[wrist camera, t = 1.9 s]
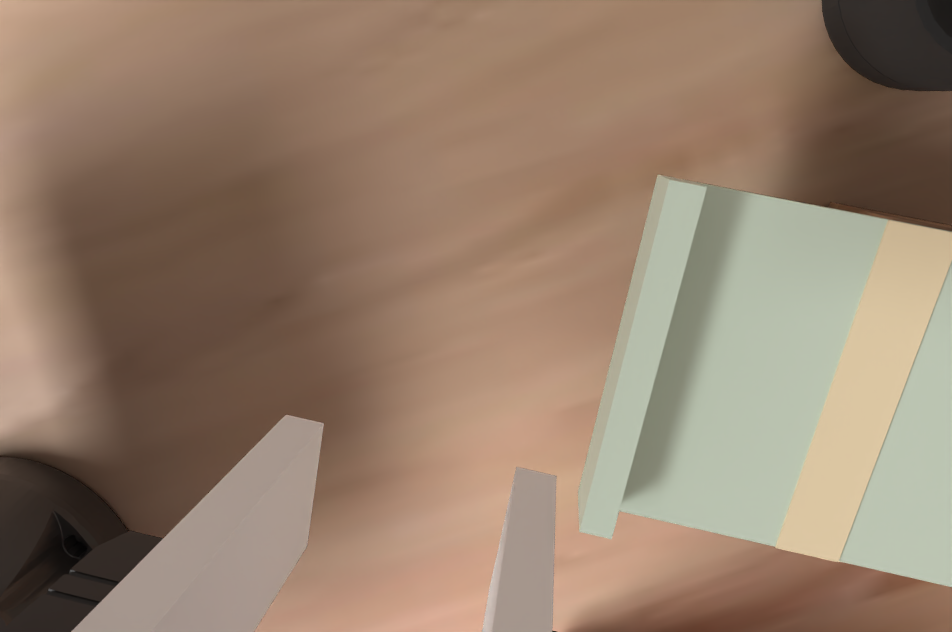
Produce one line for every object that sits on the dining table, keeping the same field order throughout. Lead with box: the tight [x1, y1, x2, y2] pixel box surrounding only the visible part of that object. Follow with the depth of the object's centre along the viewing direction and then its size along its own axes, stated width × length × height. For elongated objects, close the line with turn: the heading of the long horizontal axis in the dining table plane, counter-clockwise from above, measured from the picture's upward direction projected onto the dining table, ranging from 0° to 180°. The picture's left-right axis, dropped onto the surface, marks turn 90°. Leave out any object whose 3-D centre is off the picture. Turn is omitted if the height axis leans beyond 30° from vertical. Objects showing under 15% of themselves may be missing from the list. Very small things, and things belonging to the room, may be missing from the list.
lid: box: [578, 174, 952, 587], centre depth 25 cm, size 18×13×3 cm
